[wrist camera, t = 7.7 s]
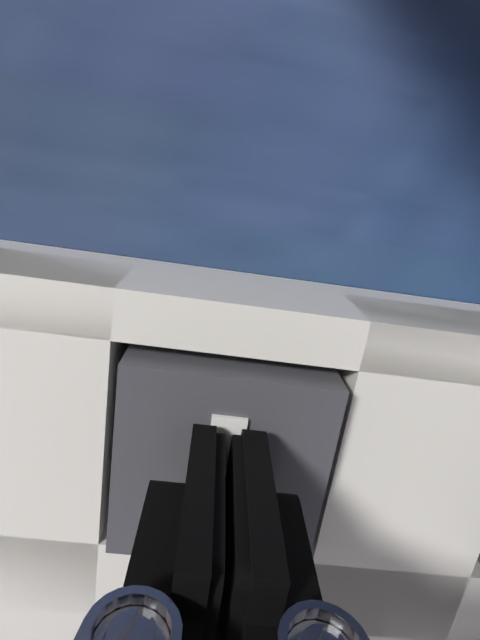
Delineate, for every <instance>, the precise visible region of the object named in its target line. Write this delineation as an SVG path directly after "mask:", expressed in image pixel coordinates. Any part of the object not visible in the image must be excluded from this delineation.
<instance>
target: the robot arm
mask: <svg viewBox="0 0 480 640" xmlns="http://www.w3.org/2000/svg"><path fill="white" fill-rule="evenodd" d="M225 452H226V435H225V433H217V426H212V425H203V424H194V423H193V429H192V437H191V444H190V452H189V460H188V467H187V475H186V482H185V483H177V482H167V481H157V480H150V482H149V485H148V489H147V493H146V497H145V501H144V505H143V509H142V513H141V517H140V521H139V525H138V529H137V533H136V537H135V541H134V545H133V548H132V552H131V556H130V560H129V564H128V568H127V572H126V576H125V580H124V584H123V587H121V588H118V589H116V590H113V591H111V592H109V593H107V594H105V595H104V596H103V597H102V598H100V599H99V600H98V601H97V602H96V603H95V604H93V606H92V607H91V609H90V610H89V611H88V613H87V614H86V616H85V617H84V619H83V621H82V623H81V625H80V627H79V629H78V631H77V634H76V636H75V638H74V640H370V639H369V637H368V636H367V634H366V632H365V631H364V629H363V627H362V626H361V625H360V624H359V623H358V622H357V621H356V620H355V619H354V618H353V617H352V616H351V615H350V614H349V613H348V612H346V611H344V610H343V609H341V608H340V607H338V606H337V605H334V604H331V603H328V602H326V601H323V600H322V595H321V591H320V586H319V582H318V578H317V573H316V569H315V564H314V560H313V556H312V551H311V547H310V542H309V538H308V534H307V529H306V525H305V520H304V516H303V512H302V507H301V503H300V500H299V497H298V496H297V494H287V493H277V492H276V487H275V481H274V475H273V468H272V462H271V456H270V450H269V443H268V437H267V432H266V431H257V430H248V429H242V432H241V435H235V434H233V435H232V439H231V445H230V451H229V458H228V464H227V470H226V477H225Z"/></svg>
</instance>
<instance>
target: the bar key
mask: <svg viewBox="0 0 480 640" xmlns="http://www.w3.org/2000/svg"><path fill="white" fill-rule="evenodd" d="M348 397H349V391H348V389H347V387H346V385H345V384H344V382H343V380H342V378H341V377H340V375H339V373H338V371H337V370H336V368H327V367H319V366H311V365H303V364H295V363H286V362H278V361H270V360H262V359H254V358H245V357H237V356H229V355H221V354H212V353H204V352H196V351H188V350H180V349H171V348H163V347H155V346H147V345H138V344H130V345H129V346H128V348H127V350H126V352H125V353H124V355H123V357H122V359H121V360H120V362H119V364H118V371H117V386H116V401H115V416H114V431H113V446H112V461H111V476H110V491H109V507H108V522H107V537H106V552H105V553H113V554H124V555H131V552H132V548H133V545H134V541H135V537H136V533H137V529H138V525H139V521H140V517H141V513H142V509H143V505H144V501H145V497H146V493H147V489H148V485H149V482H150V480H157V481H167V482H177V483H185V482H186V475H187V467H188V460H189V452H190V444H191V437H192V429H193V423H194V424H203V425H212V426H217V433H225V435H226V452H225V477H226V470H227V464H228V458H229V451H230V445H231V439H232V435H233V434H235V435H241V432H242V429H248V430H257V431H266V432H267V437H268V443H269V450H270V456H271V462H272V468H273V475H274V481H275V487H276V492H277V493H287V494H297V496H298V497H299V500H300V503H301V507H302V512H303V516H304V520H305V525H306V529H307V534H308V538H309V542H310V547H311V550H312V546H313V542H314V538H315V534H316V530H317V525H318V521H319V517H320V513H321V509H322V505H323V500H324V496H325V492H326V488H327V484H328V480H329V476H330V471H331V467H332V463H333V459H334V455H335V451H336V446H337V442H338V438H339V434H340V430H341V426H342V422H343V417H344V413H345V409H346V405H347V401H348Z"/></svg>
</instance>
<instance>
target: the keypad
mask: <svg viewBox="0 0 480 640" xmlns="http://www.w3.org/2000/svg"><path fill="white" fill-rule="evenodd" d="M130 344H138V345H147V346H155V347H163V348H171V349H180V350H188V351H196V352H204V353H212V354H221V355H229V356H237V357H245V358H254V359H262V360H270V361H278V362H286V363H295V364H303V365H311V366H319V367H327V368H336V370H337V371H338V373H339V375H340V377H341V378H342V380H343V382H344V384H345V385H346V387H347V389H348V391H349V397H348V401H347V405H346V409H345V413H344V417H343V422H342V426H341V430H340V434H339V438H338V442H337V446H336V451H335V455H334V459H333V463H332V467H331V471H330V476H329V480H328V484H327V488H326V492H325V496H324V500H323V505H322V509H321V513H320V517H319V521H318V525H317V530H316V534H315V538H314V542H313V546H312V550H311V551H312V556H313V560H314V564H315V569H316V573H317V578H318V582H319V586H320V591H321V595H322V600H323V601H326V602H328V603H331V604H334V605H337V606H338V607H340V608H341V609H343V610H344V611H346V612H348V613H349V614H350V615H351V616H352V617H353V618H354V619H355V620H356V621H357V622H358V623H359V624H360V625H361V626H362V627H363V629H364V631H365V632H366V634H367V636H368V637H369V639H370V640H480V563H479V561H478V560H477V559H478V556H479V554H480V305H479V304H472V303H465V302H457V301H450V300H443V299H435V298H428V297H420V296H413V295H406V294H398V293H391V292H383V291H376V290H369V289H361V288H354V287H347V286H339V285H332V284H324V283H317V282H310V281H302V280H295V279H288V278H280V277H273V276H265V275H258V274H251V273H243V272H236V271H228V270H221V269H214V268H206V267H199V266H192V265H184V264H177V263H169V262H162V261H155V260H147V259H140V258H133V257H125V256H118V255H110V254H103V253H96V252H88V251H81V250H74V249H66V248H59V247H51V246H44V245H37V244H29V243H22V242H14V241H7V240H0V640H74V638H75V636H76V634H77V631H78V629H79V627H80V625H81V623H82V621H83V619H84V617H85V616H86V614H87V613H88V611H89V610H90V609H91V607H92V606H93V604H95V603H96V602H97V601H98V600H99V599H100V598H102V597H103V596H104V595H105V594H107V593H109V592H111V591H113V590H116V589H118V588H121V587H123V584H124V580H125V576H126V572H127V568H128V564H129V560H130V556H131V555H124V554H113V553H105V552H106V537H107V522H108V507H109V491H110V476H111V461H112V446H113V431H114V416H115V401H116V386H117V371H118V364H119V362H120V360H121V359H122V357H123V355H124V353H125V352H126V350H127V348H128V346H129V345H130Z"/></svg>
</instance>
